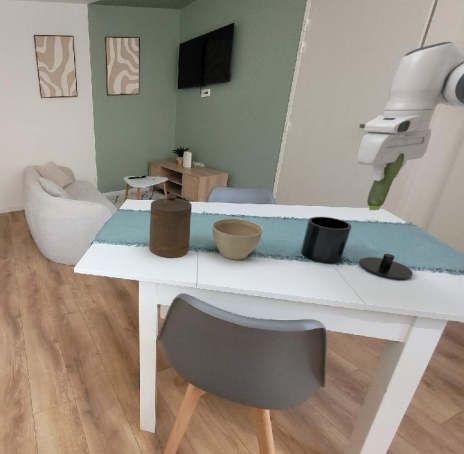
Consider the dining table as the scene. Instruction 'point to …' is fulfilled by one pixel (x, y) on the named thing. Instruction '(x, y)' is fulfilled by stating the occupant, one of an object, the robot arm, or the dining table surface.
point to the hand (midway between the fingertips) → (384, 178)
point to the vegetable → (384, 184)
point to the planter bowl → (236, 237)
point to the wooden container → (170, 226)
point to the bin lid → (386, 267)
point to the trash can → (325, 239)
